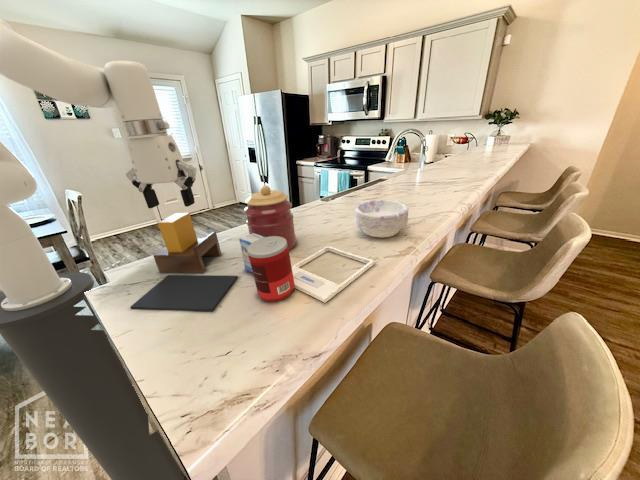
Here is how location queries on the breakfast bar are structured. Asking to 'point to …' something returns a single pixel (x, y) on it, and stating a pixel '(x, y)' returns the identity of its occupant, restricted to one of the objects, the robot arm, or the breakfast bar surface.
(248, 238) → the medicine box
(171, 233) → the tea packet
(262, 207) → the kitchen canister
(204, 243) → the shelf stand
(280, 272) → the canned food
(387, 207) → the white purple bowl
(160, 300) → the counter mat
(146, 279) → the breakfast bar surface
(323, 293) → the photo frame
